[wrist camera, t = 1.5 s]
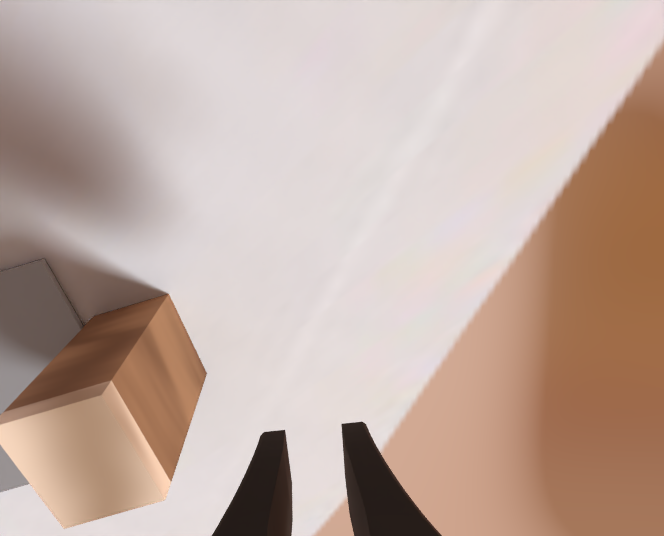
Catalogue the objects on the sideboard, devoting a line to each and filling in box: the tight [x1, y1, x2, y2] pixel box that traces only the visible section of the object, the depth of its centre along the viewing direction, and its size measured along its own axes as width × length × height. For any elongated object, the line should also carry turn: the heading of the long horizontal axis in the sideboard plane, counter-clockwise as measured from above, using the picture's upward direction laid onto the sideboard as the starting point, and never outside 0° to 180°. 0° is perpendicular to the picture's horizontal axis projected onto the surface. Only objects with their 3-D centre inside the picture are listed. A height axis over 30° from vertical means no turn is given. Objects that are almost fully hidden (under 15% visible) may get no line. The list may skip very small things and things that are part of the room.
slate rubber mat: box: [0, 259, 84, 492], centre depth 23 cm, size 11×12×1 cm
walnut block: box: [0, 294, 207, 529], centre depth 19 cm, size 4×5×8 cm
